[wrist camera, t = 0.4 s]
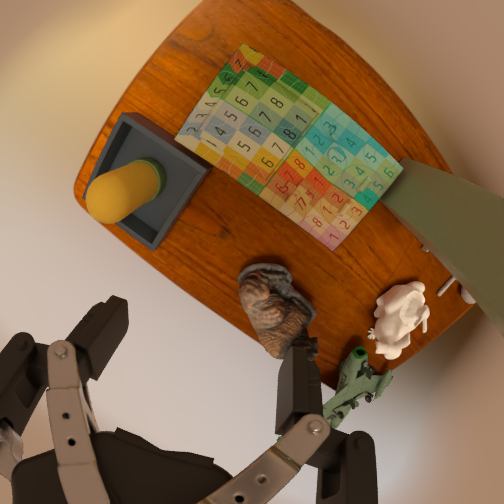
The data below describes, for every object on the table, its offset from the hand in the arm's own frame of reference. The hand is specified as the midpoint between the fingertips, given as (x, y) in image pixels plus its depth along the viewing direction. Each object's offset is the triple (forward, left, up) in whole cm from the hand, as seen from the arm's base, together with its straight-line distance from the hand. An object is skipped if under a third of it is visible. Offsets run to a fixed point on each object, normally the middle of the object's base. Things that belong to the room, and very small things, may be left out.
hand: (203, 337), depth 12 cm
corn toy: (+4, -11, -20) cm, 23 cm away
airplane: (+17, +35, -14) cm, 41 cm away
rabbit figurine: (-1, +24, -21) cm, 32 cm away
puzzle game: (-9, 0, -21) cm, 23 cm away
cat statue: (+6, +10, -21) cm, 24 cm away
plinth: (-14, +13, -21) cm, 28 cm away
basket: (+4, -11, -21) cm, 24 cm away
